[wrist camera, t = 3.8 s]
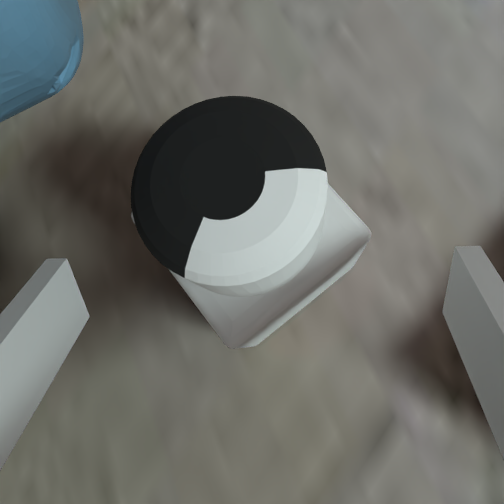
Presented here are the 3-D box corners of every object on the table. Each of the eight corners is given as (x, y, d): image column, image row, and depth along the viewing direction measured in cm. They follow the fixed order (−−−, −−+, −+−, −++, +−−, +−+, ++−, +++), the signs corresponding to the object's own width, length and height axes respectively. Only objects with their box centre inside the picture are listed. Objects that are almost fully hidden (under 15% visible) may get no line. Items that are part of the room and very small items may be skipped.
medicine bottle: (175, 248, 25) (59, 166, 13) (273, 170, 25) (243, 22, 13) (252, 349, 23) (197, 357, 12) (356, 265, 23) (404, 190, 12)
